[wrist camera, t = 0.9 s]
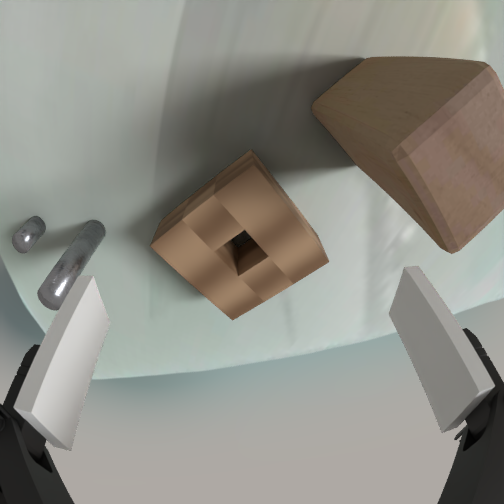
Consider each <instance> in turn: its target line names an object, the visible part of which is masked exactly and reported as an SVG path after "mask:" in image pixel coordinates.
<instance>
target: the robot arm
mask: <svg viewBox="0 0 504 504" xmlns="http://www.w3.org/2000/svg"><path fill="white" fill-rule="evenodd" d="M389 316H390V318H391V320H392V322H393V324H394V326H395V328H396V330H397V332H398V334H399V336H400V338H401V340H402V342H403V344H404V346H405V348H406V350H407V352H408V355H409V357H410V359H411V361H412V363H413V365H414V368H415V370H416V372H417V374H418V376H419V379H420V381H421V383H422V386H423V388H424V390H425V392H426V395H427V397H428V400H429V402H430V405H431V407H432V409H433V412H434V414H435V417H436V419H437V422H438V424H439V427H440V430H441V432H442V433H443V432H446V431H448V430H451V429H454V428H457V427H458V426H459V425H460V424H461V423H462V422H463V421H464V420H466V423H467V425H466V427H464V428H463V429H462V430H461V431H460V432H459V433H458V434H457V435H456V437H455V439H454V440H457V439H458V438H459V437H460V436H461V435H462V437H461V440H460V445H459V447H458V451H457V454H456V457H455V460H454V463H453V466H452V469H451V471H450V474H449V477H448V479H447V482H446V484H445V487H444V489H443V492H442V494H441V497H440V499H439V501H438V504H504V382H503V381H502V379H501V377H500V376H499V374H498V372H497V370H496V368H495V367H494V365H493V363H492V361H491V360H490V358H489V356H487V353H486V351H485V350H484V348H482V345H481V343H480V342H479V340H478V339H477V337H476V336H475V335H474V334H473V333H472V332H470V330H468V329H467V328H465V329H462V328H461V327H460V325H459V324H458V322H457V320H456V319H455V317H454V316H453V314H452V313H451V311H450V310H449V308H448V307H447V305H446V304H445V302H444V301H443V300H442V298H441V297H440V295H439V294H438V292H437V291H436V289H435V288H434V287H433V285H432V284H431V282H430V281H429V280H428V278H427V277H426V276H425V274H424V273H423V271H422V270H421V269H420V267H419V266H412V267H404V270H403V273H402V276H401V279H400V283H399V286H398V289H397V292H396V295H395V297H394V300H393V303H392V306H391V309H390V312H389ZM110 324H111V323H110V320H109V317H108V315H107V312H106V310H105V307H104V304H103V302H102V299H101V296H100V293H99V291H98V288H97V285H96V282H95V279H94V276H78V277H77V279H76V281H75V282H74V284H73V286H72V288H71V289H70V291H69V293H68V294H67V296H66V298H65V300H64V302H63V303H62V305H61V307H60V309H59V311H58V312H57V314H56V316H55V318H54V320H53V322H52V324H51V326H50V328H49V330H48V331H47V333H46V335H45V337H44V339H43V341H42V343H41V345H34V346H33V347H32V348H31V349H30V350H29V351H28V352H27V353H26V354H25V356H24V358H23V361H22V363H21V367H19V369H18V371H17V375H16V376H15V378H14V380H13V382H12V384H11V387H10V389H9V391H8V394H7V396H6V399H5V401H4V403H3V405H1V404H0V504H74V502H73V500H72V499H71V497H70V495H69V493H68V491H67V489H66V487H65V485H64V483H63V481H62V479H61V477H60V475H59V473H58V471H57V469H56V467H55V465H54V463H53V460H52V458H51V456H50V454H49V452H48V450H47V449H46V447H45V443H46V440H47V441H49V442H50V443H51V444H52V445H53V446H55V447H58V448H62V449H65V450H69V451H71V449H72V445H73V441H74V437H75V433H76V429H77V425H78V422H79V418H80V414H81V411H82V408H83V404H84V401H85V398H86V394H87V391H88V388H89V385H90V381H91V378H92V375H93V372H94V369H95V366H96V363H97V360H98V357H99V354H100V351H101V348H102V346H103V343H104V340H105V337H106V334H107V332H108V329H109V326H110Z"/></svg>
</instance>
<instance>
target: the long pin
mask: <svg viewBox="0 0 504 504" xmlns="http://www.w3.org/2000/svg"><path fill="white" fill-rule="evenodd" d="M105 234H106V230H105V227H104V225H103V224H102V223H101V222H99V221H97V220H91V221H89V222H88V223H87V224H86V225H85V227H84V228H83V229H82V230H81V232H80V233H79V234H78V236H77V237H76V238H75V239H74V241H73V242H72V243H71V245H70V246H69V247H68V249H67V250H66V251H65V253H64V254H63V255H62V257H61V258H60V259H59V261H58V262H57V264H56V265H55V266H54V268H53V269H52V271H51V272H50V273H49V275H48V276H47V278H46V279H45V281H44V282H43V284H42V285H41V287H40V288H39V290H38V293H37V294H38V298H39V300H40V301H41V303H42V304H43V305H44V306H45V307H47V308H49V309H51V310H59V309H60V307H61V305H62V303H63V302H64V300H65V298H66V296H67V294H68V293H69V291H70V289H71V288H72V286H73V284H74V282H75V281H76V279H77V277H78V276H80V274H81V273H82V271H83V269H84V268H85V266H86V264H87V263H88V261H89V260H90V258H91V256H92V255H93V253H94V252H95V250H96V249H97V247H98V245H99V244H100V242H101V241H102V239H103V238H104V236H105Z"/></svg>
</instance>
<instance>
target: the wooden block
mask: <svg viewBox="0 0 504 504" xmlns="http://www.w3.org/2000/svg"><path fill="white" fill-rule="evenodd" d="M311 109H312V112H313V114H314V116H315V117H316V118H317V119H318V120H319V121H320V122H321V123H322V125H323V126H324V127H325V128H326V129H327V130H328V131H329V133H330V134H331V135H332V136H333V137H334V138H335V140H336V141H337V142H338V143H339V144H340V145H341V147H342V148H343V149H344V150H345V151H346V153H347V154H348V155H349V156H350V158H351V159H352V160H353V161H354V163H355V164H356V165H357V166H358V167H359V168H360V169H361V170H362V171H364V172H365V173H366V174H367V175H368V176H369V177H370V178H371V179H372V180H373V181H375V182H376V183H377V184H378V185H379V186H380V187H381V188H382V189H383V190H384V191H385V192H386V193H387V194H388V195H390V196H391V197H392V198H393V199H394V200H395V201H396V202H397V203H398V204H399V205H400V206H401V207H402V208H403V209H404V210H405V211H406V212H407V213H408V214H409V215H410V216H411V217H412V218H413V219H414V220H415V221H416V222H417V223H418V224H419V225H420V226H421V227H422V228H423V230H424V231H425V232H426V233H427V234H428V235H429V236H430V237H431V238H432V239H433V240H434V241H435V242H436V243H437V245H438V246H439V247H440V248H441V249H443V250H445V251H447V252H449V253H451V254H453V253H455V252H458V251H459V250H461V249H462V248H463V247H464V246H465V245H466V244H467V243H468V242H469V241H471V240H472V239H473V238H474V237H475V236H476V235H477V234H478V233H479V232H480V231H481V230H482V229H483V228H485V227H486V226H487V225H488V224H489V223H490V222H491V221H492V220H493V219H494V218H495V217H496V216H497V215H498V214H499V213H500V212H501V211H502V210H503V209H504V89H503V87H502V85H501V82H500V80H499V78H498V76H497V74H496V72H495V71H494V70H493V69H492V67H491V66H490V65H488V64H486V63H485V62H480V61H472V60H462V59H451V58H436V57H370V58H366V59H365V60H364V61H362V62H361V63H360V64H359V65H357V66H356V67H355V68H354V69H352V70H351V71H350V72H349V73H347V74H346V75H345V76H344V77H343V78H341V79H340V80H339V81H338V82H337V83H335V84H334V85H333V86H332V87H331V88H329V89H328V90H327V91H326V92H325V93H323V94H322V95H321V96H320V97H319V98H318V99H316V100H315V101H314V102H313V105H312V107H311Z"/></svg>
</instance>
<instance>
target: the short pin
mask: <svg viewBox="0 0 504 504" xmlns="http://www.w3.org/2000/svg"><path fill="white" fill-rule="evenodd" d="M45 230H46V226H45V223H44V221H43V220H42V219H41V218H40V217H38V216H33V217H32V218H31V219H30V220H29V221H27V222H26V223H25V224H24V225H23V226H22V227H21V228H20V229H19V230H18V231H17V232H16V233H15V234H14V235H13V237H12V243H13V246H14V247H15V249H16V250H17V251H18V252H20V253H27V252H28V250H29V249H30V248H31V247H32V246H33V245H34V244H35V242H36V241H37V240H38V239H39V238H40V237H41V236H42V235H43V233H44V232H45Z"/></svg>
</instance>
